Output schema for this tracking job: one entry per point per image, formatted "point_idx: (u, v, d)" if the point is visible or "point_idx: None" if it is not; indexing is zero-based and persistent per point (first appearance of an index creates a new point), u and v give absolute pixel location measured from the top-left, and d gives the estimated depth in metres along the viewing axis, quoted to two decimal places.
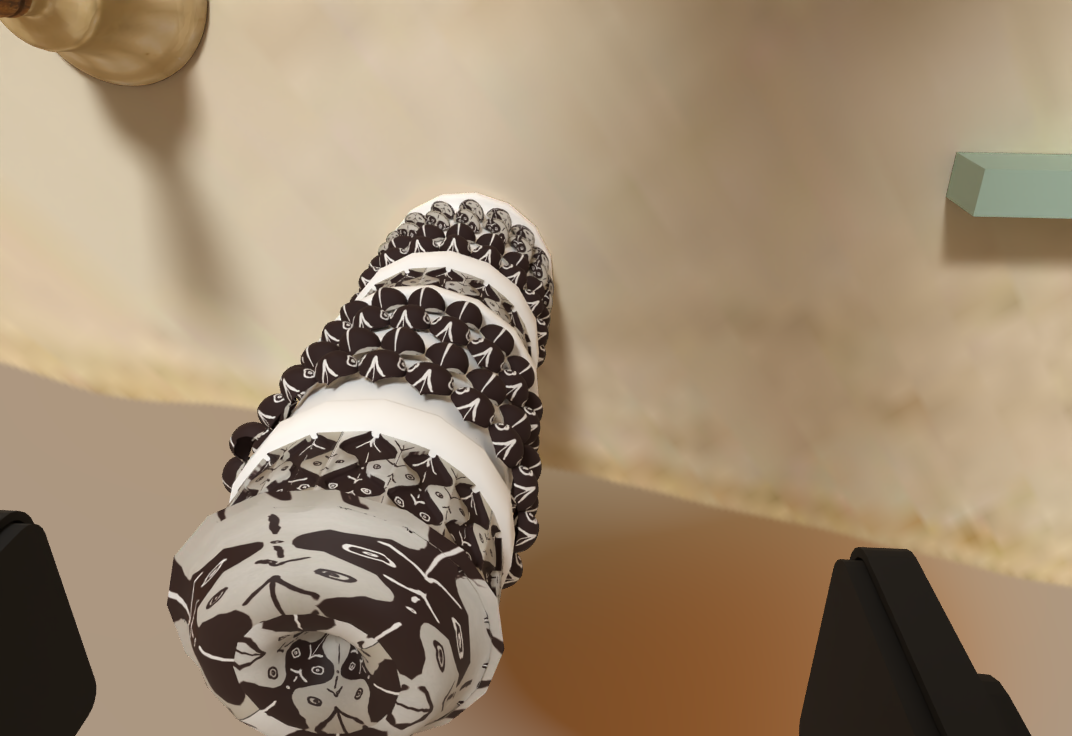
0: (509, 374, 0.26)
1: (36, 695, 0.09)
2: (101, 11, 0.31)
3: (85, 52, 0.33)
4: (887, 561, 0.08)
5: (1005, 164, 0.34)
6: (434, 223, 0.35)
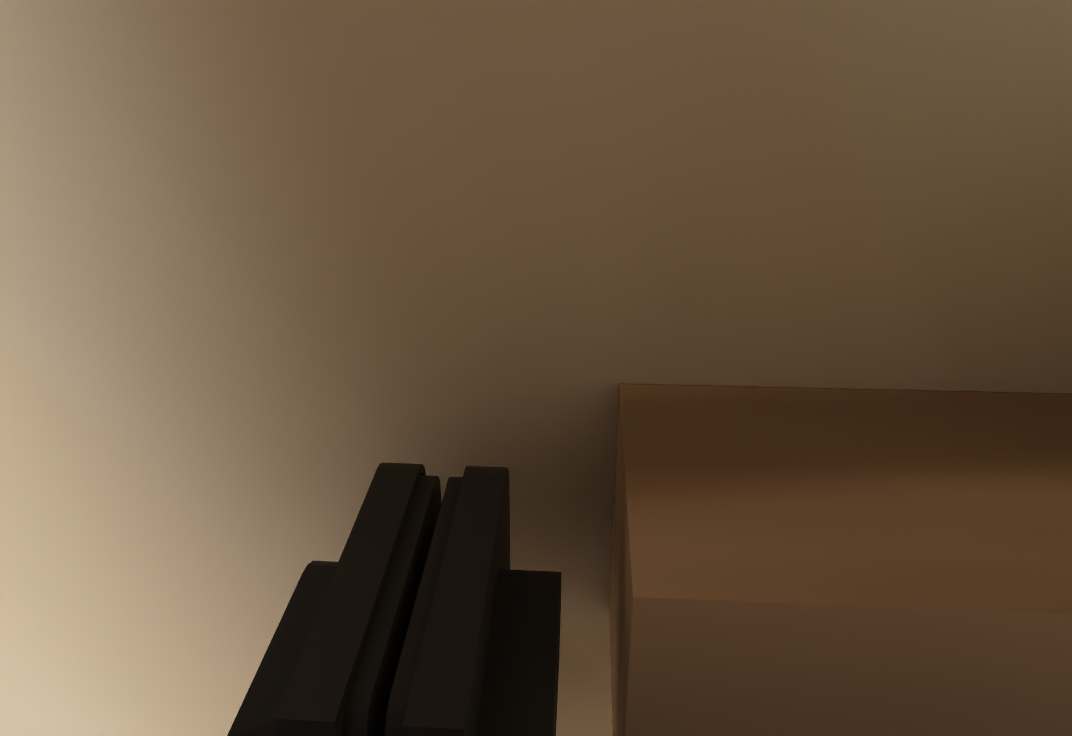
0: None
1: None
2: None
3: None
4: (479, 475, 0.10)
5: None
6: None
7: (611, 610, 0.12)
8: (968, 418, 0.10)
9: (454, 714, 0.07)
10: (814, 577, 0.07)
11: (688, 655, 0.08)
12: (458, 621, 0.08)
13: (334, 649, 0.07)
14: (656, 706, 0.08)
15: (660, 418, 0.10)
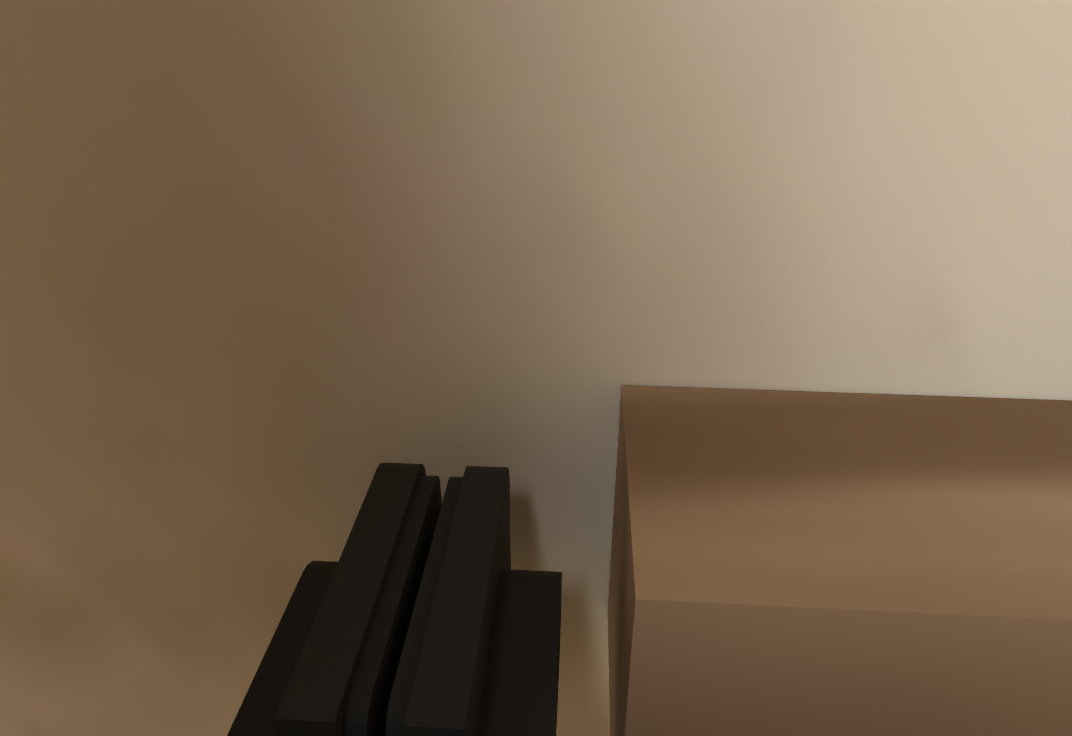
0: None
1: None
2: None
3: None
4: (479, 475, 0.10)
5: None
6: None
7: (609, 611, 0.12)
8: (969, 424, 0.10)
9: (454, 714, 0.07)
10: (816, 581, 0.08)
11: (689, 657, 0.08)
12: (458, 621, 0.08)
13: (334, 649, 0.07)
14: (656, 708, 0.08)
15: (662, 420, 0.10)
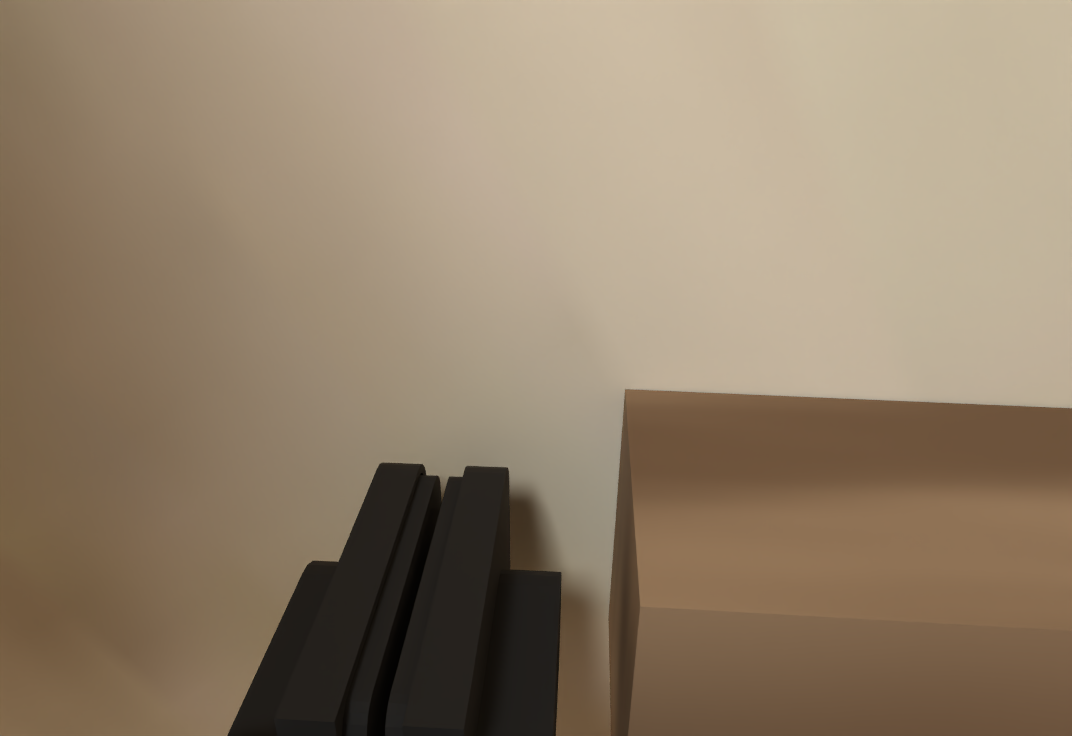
0: None
1: None
2: None
3: None
4: (479, 475, 0.10)
5: None
6: None
7: (611, 616, 0.12)
8: (974, 431, 0.10)
9: (455, 714, 0.07)
10: (823, 590, 0.07)
11: (693, 664, 0.07)
12: (458, 621, 0.08)
13: (334, 649, 0.07)
14: (660, 716, 0.08)
15: (666, 425, 0.10)
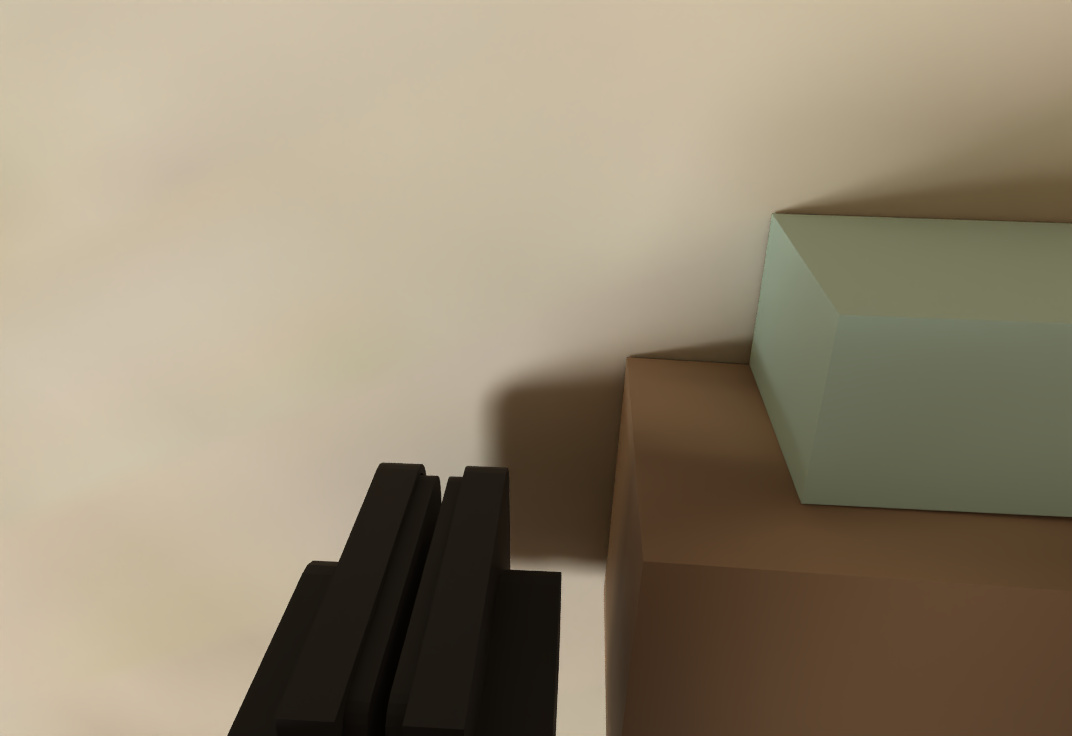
0: None
1: None
2: None
3: None
4: (479, 475, 0.10)
5: None
6: None
7: None
8: None
9: (454, 712, 0.07)
10: None
11: None
12: (458, 621, 0.08)
13: (334, 649, 0.07)
14: None
15: None
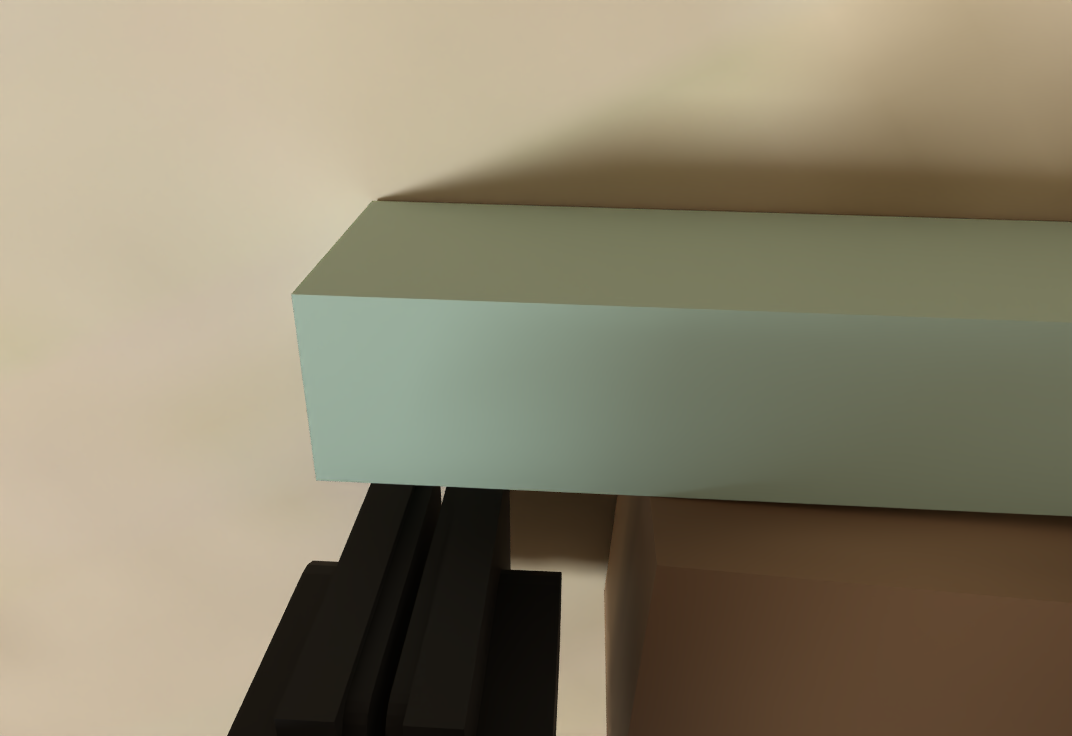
0: None
1: None
2: None
3: None
4: None
5: None
6: None
7: None
8: None
9: (455, 712, 0.07)
10: None
11: None
12: (458, 621, 0.08)
13: (334, 649, 0.07)
14: None
15: None
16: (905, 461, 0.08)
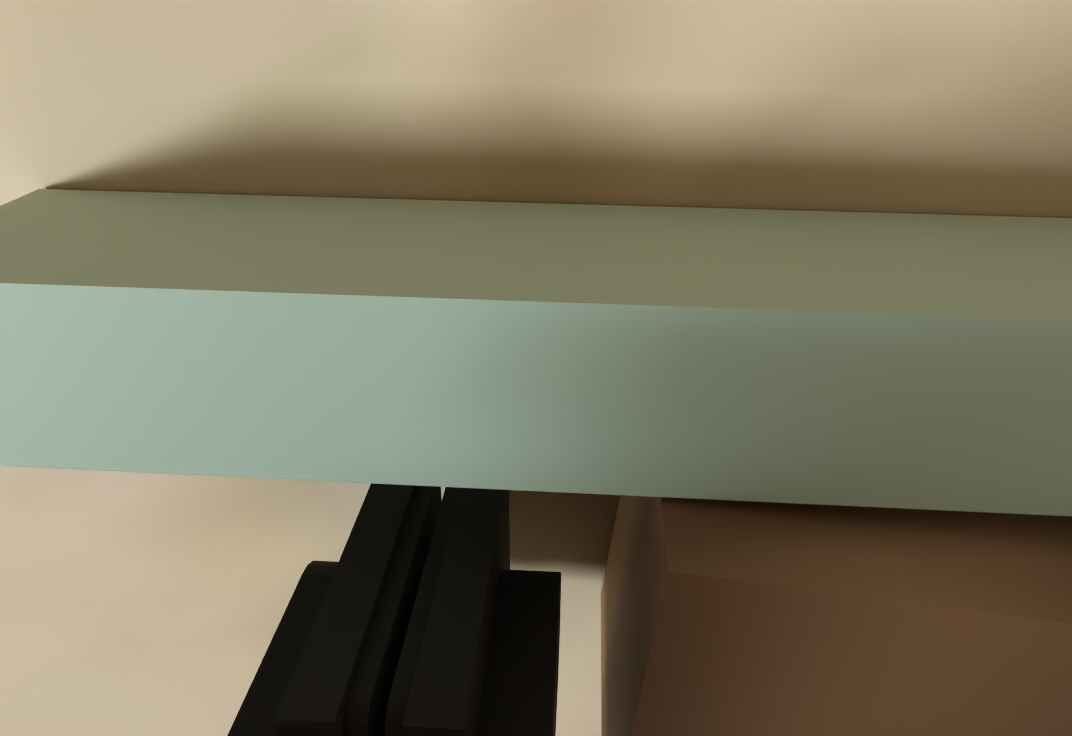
0: None
1: None
2: None
3: None
4: None
5: None
6: None
7: None
8: None
9: (454, 712, 0.07)
10: None
11: None
12: (458, 621, 0.08)
13: (334, 649, 0.07)
14: None
15: None
16: (465, 441, 0.08)
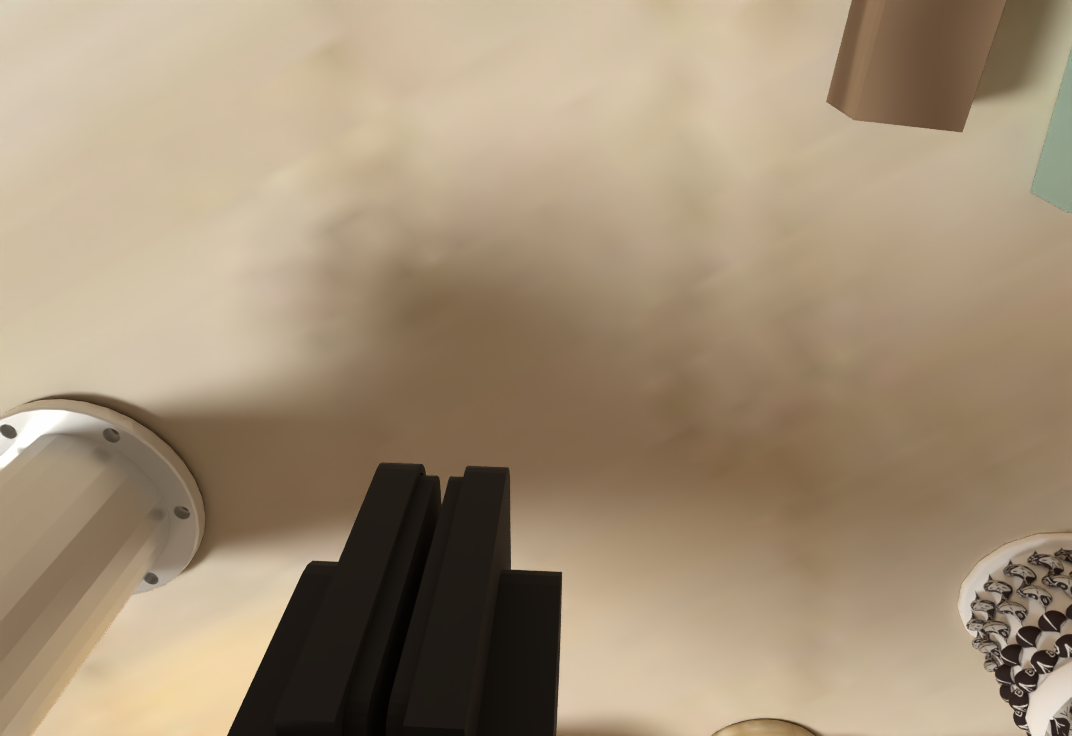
0: None
1: None
2: None
3: None
4: (480, 475, 0.10)
5: (1064, 177, 0.32)
6: (991, 653, 0.42)
7: None
8: None
9: (455, 712, 0.07)
10: (863, 71, 0.30)
11: (876, 106, 0.30)
12: (459, 621, 0.08)
13: (334, 649, 0.07)
14: (893, 116, 0.30)
15: (834, 93, 0.33)
16: None
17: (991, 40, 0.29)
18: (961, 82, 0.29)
